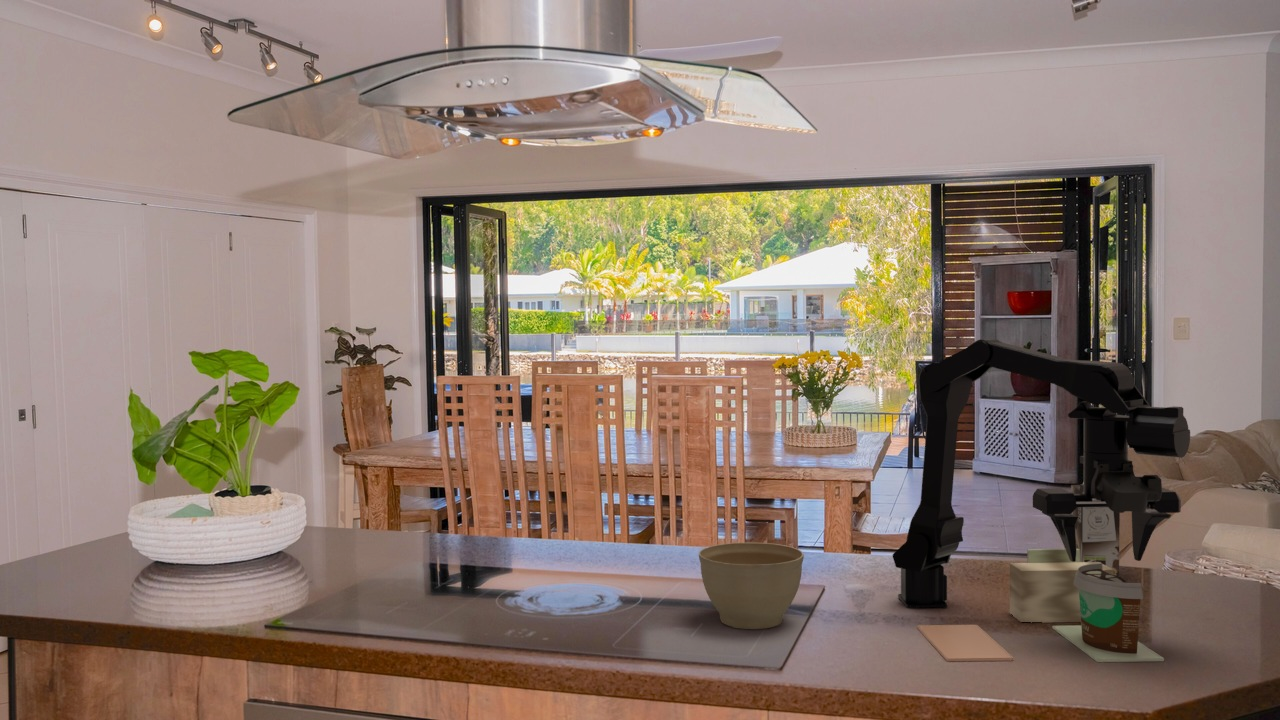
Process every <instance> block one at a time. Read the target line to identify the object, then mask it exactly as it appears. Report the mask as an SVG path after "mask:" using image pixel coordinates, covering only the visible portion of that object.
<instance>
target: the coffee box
mask: <svg viewBox="0 0 1280 720" xmlns="http://www.w3.org/2000/svg"><path fill="white" fill-rule="evenodd" d="M1070 489H1071V490H1070V492H1071V493H1074V494H1083V492H1081V491H1080V484H1071V485H1070ZM1092 500H1093V498H1092ZM1093 501H1094V500H1093ZM1096 501H1097V500H1096ZM1099 501H1100V500H1099ZM1072 514H1073V515H1075V516H1078V519H1077V522H1076V524H1075V536H1076V549H1080V562H1100V563H1102V564H1104V565H1106V566H1107V567H1109V568H1111V569H1113V570H1114V575H1117V576H1120V526H1121V525H1120V523H1121V522H1120V520H1121V519H1120V518H1121V517H1120V514H1121V513H1117V512H1114V511H1112V510H1110V509H1109V507H1076V509H1075V510H1074V511H1073V512H1072Z"/></svg>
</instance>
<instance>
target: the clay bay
mask: <svg viewBox="0 0 1280 720" xmlns="http://www.w3.org/2000/svg"><path fill="white" fill-rule="evenodd" d="M916 629H917V630H918V631H919V632H920V633H921V634H922V636H924V638H925V639H926V640H927V641H928V642H929V643H930V644H931V646H933V648H934V649H935V650H936V651H937V652H938V653H939V654H940V655H941V656H942V658H944V660H945V661H946V662H1000V661H1001V662H1003V661H1005V662H1007V661H1009V662H1010V661H1011V662H1012V661H1014V657H1013V656H1012V655H1011V654H1010V653H1008V652H1007V650H1006V649H1004V648H1003V647H1002V645H1000V644H998V642H997V641H996V640H994V639H993V638H992V637H991V636H990V635H989V634H988V633H987V632H986V631H984V629H982V628H981V627H980V626H979V625H978V624H941V625H939V624H937V625H934V624H933V625H932V624H930V625H927V624H926V625H923V624H922V625H916Z"/></svg>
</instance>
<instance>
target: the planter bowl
mask: <svg viewBox="0 0 1280 720" xmlns="http://www.w3.org/2000/svg"><path fill="white" fill-rule="evenodd" d="M804 557H805V556H804V552H803V551H802V550H801V549H799V548H796V547H793V546H790V545H784V544H779V543H771V542H770V543H769V542H728V543H727V542H726V543H720V544H714V545H710V546H708V547H704V548H702V549H700V550H699V551H698V559H699V562H700V573H701V578H702V582H703V586H704V590H705V591H706V594H707V596H708V598H709V600H710V601H711V604H712V605H713V606H714V608H715V610H717V612H718V613H719V619H720V622H721V623H723V624H724V625H726V626H728V627H732V628H734V629H745V630H761V629H771V628H774V627H777V626H779V625H781V624H782V622H783V619H784V614H785V613H786V612H787V611H788V609H789V608H790V607H791V605H792V602H793V601H794V599H795V597H796V595H797V594H798V593H797V592H798V590H799V587H800V585H801V579H802V578H801V577H802V574H803V573H802V571H803V562H804Z"/></svg>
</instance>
